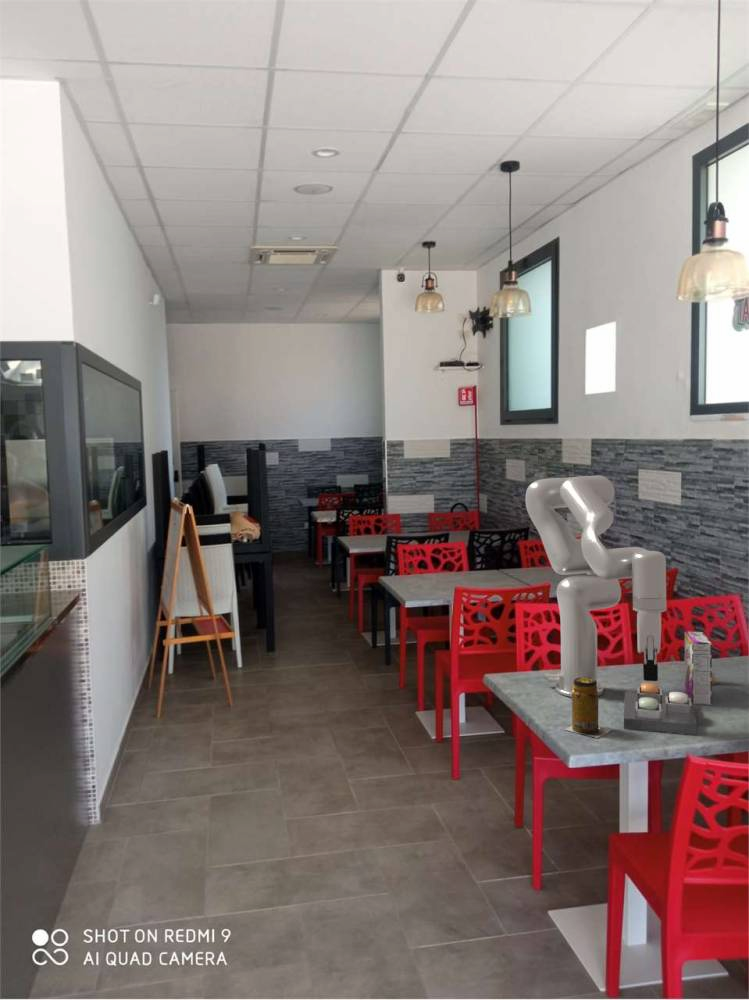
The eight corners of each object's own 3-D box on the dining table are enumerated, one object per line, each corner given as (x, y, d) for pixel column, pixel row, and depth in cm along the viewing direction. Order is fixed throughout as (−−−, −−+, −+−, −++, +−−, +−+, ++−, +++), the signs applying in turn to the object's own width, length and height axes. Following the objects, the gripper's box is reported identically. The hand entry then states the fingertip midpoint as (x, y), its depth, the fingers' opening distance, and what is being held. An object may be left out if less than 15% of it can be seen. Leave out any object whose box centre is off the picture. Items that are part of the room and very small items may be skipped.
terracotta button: (640, 694, 197) (640, 686, 197) (640, 689, 201) (640, 681, 201) (658, 695, 195) (658, 688, 195) (658, 690, 199) (658, 683, 199)
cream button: (669, 704, 189) (669, 696, 189) (668, 699, 193) (668, 691, 193) (688, 706, 188) (688, 698, 188) (687, 700, 192) (687, 692, 191)
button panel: (623, 728, 185) (623, 710, 185) (625, 700, 204) (625, 683, 204) (696, 735, 180) (696, 716, 180) (690, 706, 199) (691, 688, 199)
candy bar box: (683, 690, 211) (683, 630, 210) (703, 691, 210) (703, 631, 209) (691, 704, 200) (692, 641, 199) (712, 705, 199) (713, 642, 198)
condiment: (579, 721, 190) (579, 673, 189) (612, 730, 185) (612, 680, 184) (564, 730, 185) (564, 680, 184) (597, 739, 179) (597, 688, 178)
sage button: (639, 710, 186) (639, 702, 185) (638, 704, 190) (639, 696, 189) (657, 712, 184) (657, 704, 184) (657, 706, 188) (657, 698, 188)
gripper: (632, 597, 193) (634, 670, 194) (632, 609, 179) (633, 688, 180) (665, 598, 190) (666, 672, 191) (667, 610, 176) (668, 690, 177)
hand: (650, 679), depth 186 cm, fingers closed
